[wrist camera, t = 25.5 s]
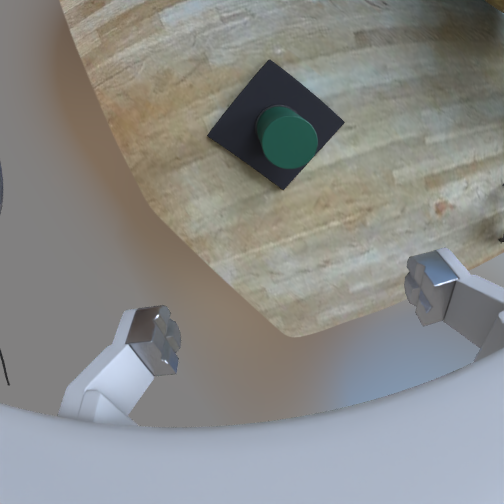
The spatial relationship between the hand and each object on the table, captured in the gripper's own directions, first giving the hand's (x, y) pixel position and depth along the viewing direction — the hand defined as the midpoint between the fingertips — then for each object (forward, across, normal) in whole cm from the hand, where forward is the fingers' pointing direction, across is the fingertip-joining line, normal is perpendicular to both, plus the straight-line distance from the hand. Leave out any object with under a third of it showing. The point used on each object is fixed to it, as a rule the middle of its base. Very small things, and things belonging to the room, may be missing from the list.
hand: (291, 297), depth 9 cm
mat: (+29, -3, 0) cm, 29 cm away
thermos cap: (+29, -3, 0) cm, 29 cm away
